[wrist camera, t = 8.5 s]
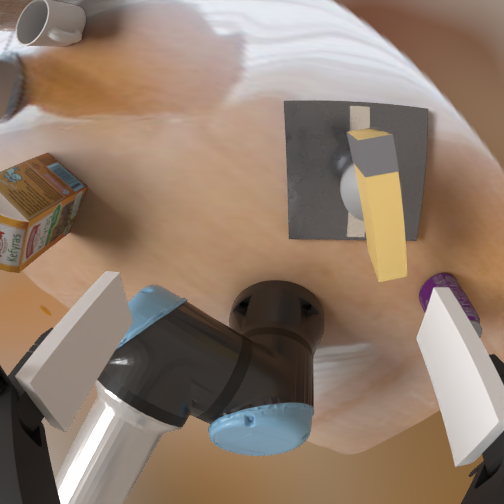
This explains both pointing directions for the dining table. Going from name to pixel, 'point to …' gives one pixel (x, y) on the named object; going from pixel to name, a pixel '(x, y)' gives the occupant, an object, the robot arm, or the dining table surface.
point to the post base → (331, 153)
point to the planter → (11, 13)
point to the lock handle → (377, 199)
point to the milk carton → (35, 209)
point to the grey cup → (50, 24)
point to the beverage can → (457, 291)
